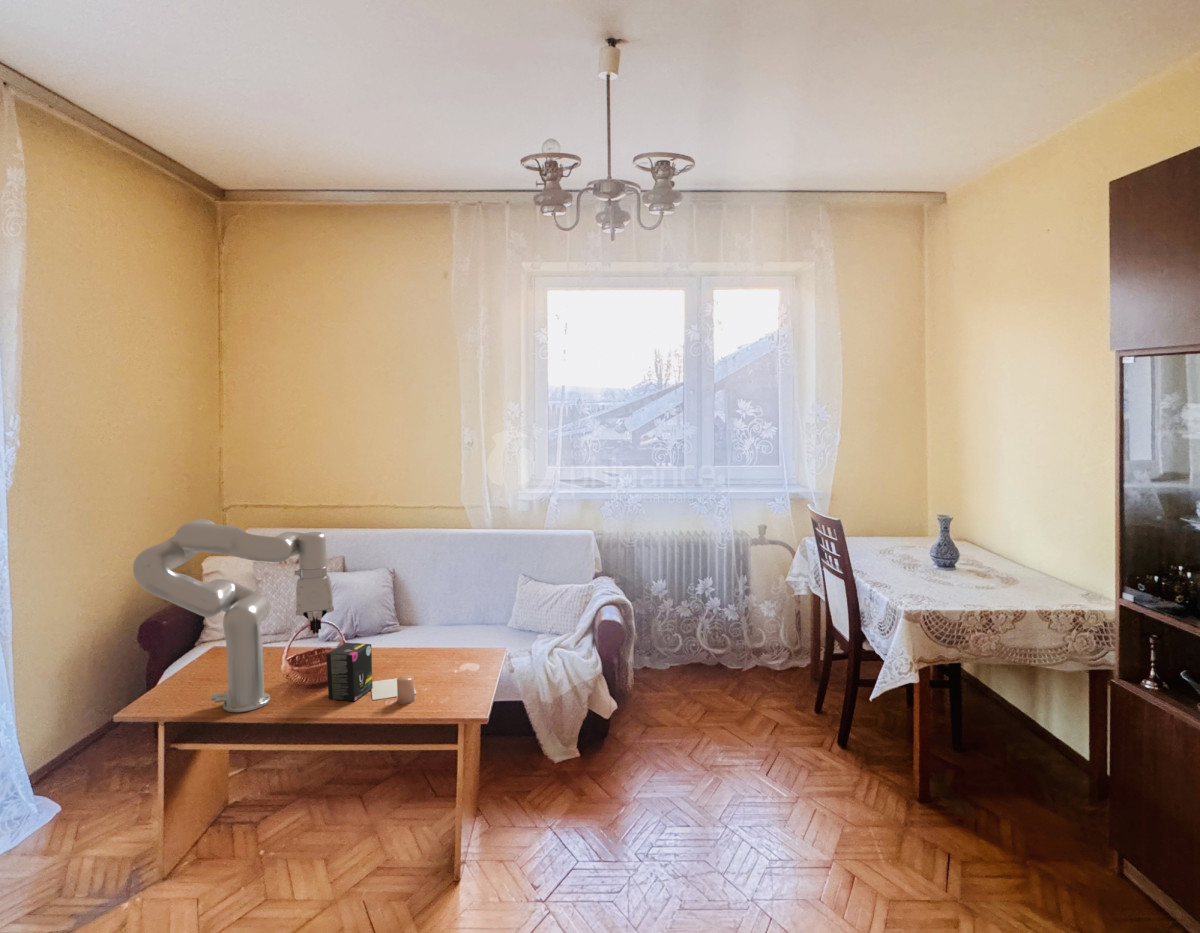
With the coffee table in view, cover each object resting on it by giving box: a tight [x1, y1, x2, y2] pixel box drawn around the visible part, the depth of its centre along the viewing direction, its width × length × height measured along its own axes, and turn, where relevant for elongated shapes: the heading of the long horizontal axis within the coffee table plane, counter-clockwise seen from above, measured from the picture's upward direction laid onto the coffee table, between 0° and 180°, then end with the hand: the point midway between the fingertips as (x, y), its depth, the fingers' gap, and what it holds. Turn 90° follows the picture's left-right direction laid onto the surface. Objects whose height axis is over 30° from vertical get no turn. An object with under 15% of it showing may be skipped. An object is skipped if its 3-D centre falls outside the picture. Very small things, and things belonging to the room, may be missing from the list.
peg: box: [396, 675, 415, 705], centre depth 201 cm, size 5×5×7 cm
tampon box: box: [326, 642, 373, 702], centre depth 205 cm, size 11×9×15 cm
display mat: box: [370, 677, 417, 701], centre depth 210 cm, size 13×15×1 cm
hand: (315, 632), depth 201 cm, fingers closed
